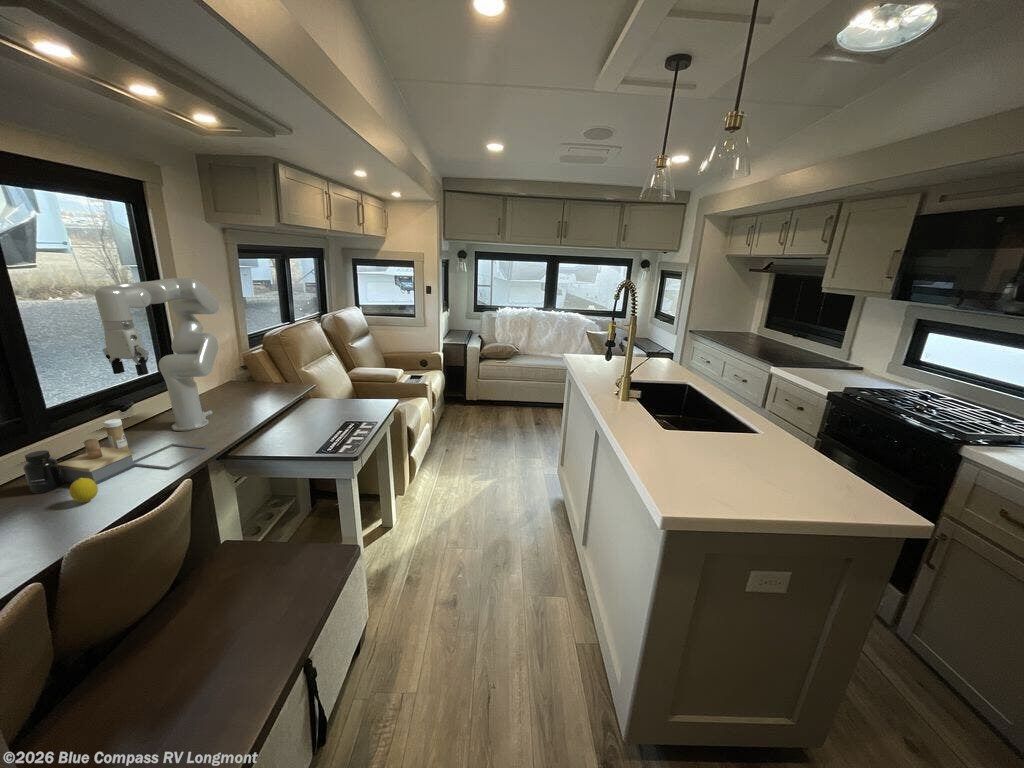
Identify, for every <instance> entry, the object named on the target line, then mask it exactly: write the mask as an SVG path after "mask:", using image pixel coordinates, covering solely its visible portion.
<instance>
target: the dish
mask: <svg viewBox="0 0 1024 768" xmlns="http://www.w3.org/2000/svg"><path fill="white" fill-rule="evenodd" d="M133 461H134V459H133V454H132V455H130V456H128V457H125V458H123V459H120V460H118V461H116V462H113V463H111V464H108V465H106V466H104V467H101V468H99V469H96V470H94V471H92V472H84V471H77V470H69V469H61V468H59V469H60V473H61V476H62V479H63V483H64V482H66V483H71V484H72V483H73V482H74V481H76V480H78V479H79V478H89V479H92V480H93V481H94V482H95V483H96V485H97V486H98V485H99V484H101V483H103V482H106V481H108V480H111V479H112V478H115V477H117V476H119V475H121V474H123V473H125V472H128V471H130V470H133V469H134V468H136V466H134V462H133Z"/></svg>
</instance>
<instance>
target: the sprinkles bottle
mask: <svg viewBox="0 0 1024 768" xmlns="http://www.w3.org/2000/svg"><path fill="white" fill-rule="evenodd" d="M103 425H104V426H103V427H104V429H106V433H107V438H108V441H109V446H110V448H115V449H124V450H130V449H129V446H128V441H127V438H126V434H125V432H124V427H123V421H122V420H121V418H113V419H107V420H105V421H104V422H103Z"/></svg>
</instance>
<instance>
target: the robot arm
mask: <svg viewBox="0 0 1024 768" xmlns="http://www.w3.org/2000/svg"><path fill="white" fill-rule="evenodd" d="M94 298H95V301H96V305H97V309H98V311H99V315H100V319H101V323H102V326H103V333H104V342H105V347H104V348H103V349H102V350H101V351H102V352H103V354H104V356H105V359H106V358H107V360H108V362H109V364H111V368H112V372H113V374H114V375H118V374H122V373H125V372H126V371H125V367H124V363H123V361H122V359H123V360H133V362H134V363H135V370H136V374H137V376H139V377H141V376H144V375H145V376H146V375H148V374H149V371H148V366H147V363H148V360H149V356H150V355H149V354H150V353H149V351H148V350H146V349H145V347H144V343H143V342H142V338H141V336H140V334H139V332H138V330H137V329H135V325H134V321H133V316H132V313H131V309H143V308H146V307H148V306H149V305H156V304H163V303H167V302H171V307H172V308H171V309H172V310H173V312H174V315H175V317H176V319H177V322H178V324H177V329H176V331H175V333H174V336H173V339H172V342H171V350H172V351H173V353H174V354H166V355H165V356H162V358H160V359H159V362H158V368H159V371H160V372H161V375H162V377H163V379H164V381H165V385H166V387H167V391H168V396H169V401H170V404H171V409H172V413H173V414H172V415H173V417H174V422H175V423H173V424H172V425H171V429H172V430H173V431H177V432H186V431H193V430H197V429H200V428H203V427H205V426H208V424H209V423H210V422H209V419H208V418H207V416H211V415H213V411H212V410H207V411H204V410H203V409H202V405H201V401H200V400H201V399H200V396H199V391H198V386H197V384H196V382H195V381H194V380H193V378H200V377H201V378H202V377H207V376H209V375H210V374H211V372H212V370H213V367H214V364H215V360H216V357H217V354H218V350H219V344H218V343H219V342H218V339H217V338H216V337H215V335H213V334H211V333H208V332H207V333H206V332H205V333H203V329H204V328H203V325H202V323H201V322H200V321H199V319H197V318H196V317H195V315H215V314H216V313H218V311H219V310H220V304H219V301H218V299H217V298H216V296H215V295H214V294H213V293H212V291H210V290H209V289H208V288H207V286H205V285H204V284H203V283H202V282H201V281H199V280H198V279H195V278H186V277H185V278H181V277H179V278H178V277H170V278H169V277H168V278H163V279H162V278H161V279H156V280H150V281H149V280H148V281H139V282H138V281H137V282H129V283H119V284H111V285H103V286H100V287H99V288H98V289H96V290H95V291H94Z"/></svg>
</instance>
